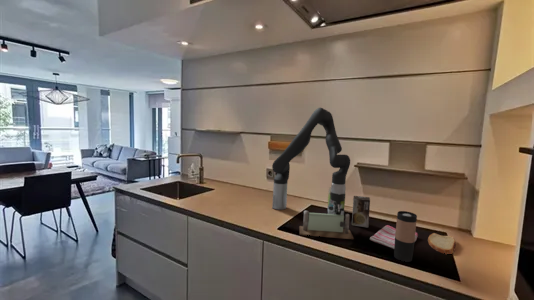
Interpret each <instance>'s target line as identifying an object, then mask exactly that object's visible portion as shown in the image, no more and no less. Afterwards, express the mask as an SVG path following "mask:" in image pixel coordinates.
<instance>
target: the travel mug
mask: <svg viewBox="0 0 534 300" xmlns="http://www.w3.org/2000/svg"><path fill="white" fill-rule="evenodd" d="M417 221H418V214H416V213H414V212H411V211H405V210H400V211H397V216H396V223H395V225H396V226H395V229H396V232H395V245H394V249H393V257H394V258H395V259H396V260H398V261H400V260H401V262H404V261H405V262H406V263H409V262H412V261H413V255H414V249H415V242H416V241H415V233H417V231H416V230H417ZM405 262H404V263H405Z"/></svg>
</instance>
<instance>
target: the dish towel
mask: <svg viewBox="0 0 534 300" xmlns="http://www.w3.org/2000/svg"><path fill="white" fill-rule="evenodd" d="M395 232H396V227H393V226H390V225H389V224H387V225H385V226H383V227H382V228H381V229H379V230H378V231H377V232H376V233H374V234H373V235H372V236H370V237H369V240H370V241H372V242H374V243H376V244H380V245H382V246H385V247H387V248H389V249H390V248H391V249H393V250H394V245H395ZM418 236H419V234H418V232H415V242H416V241H417V239H418Z"/></svg>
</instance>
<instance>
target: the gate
mask: <svg viewBox="0 0 534 300" xmlns="http://www.w3.org/2000/svg"><path fill="white" fill-rule="evenodd" d="M340 222H345V214H344V215H338V214H328V213H323V212H322V213H320V212H309V213H308V230H317V231H330V232H343V229H344V227H340Z"/></svg>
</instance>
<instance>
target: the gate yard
mask: <svg viewBox="0 0 534 300" xmlns="http://www.w3.org/2000/svg"><path fill="white" fill-rule="evenodd" d="M309 213H310V212H309V210H304V211H303V221H302V222H303V223H302V225H299V227H298V228H299V236H307V235H308V236H309V235H310V236H311V237H319V236H320V237H323V238H334V239H344V240H345V239H346V240H354V239H355V238H354V235H353V234H352V232H351V230H350V229H349V228H350V227H349V226H350V216H351V215H350V214H349V213H345V215H344V222H340V227H343V232H330V231H317V230H308V222H309ZM310 236H309V237H310Z"/></svg>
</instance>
